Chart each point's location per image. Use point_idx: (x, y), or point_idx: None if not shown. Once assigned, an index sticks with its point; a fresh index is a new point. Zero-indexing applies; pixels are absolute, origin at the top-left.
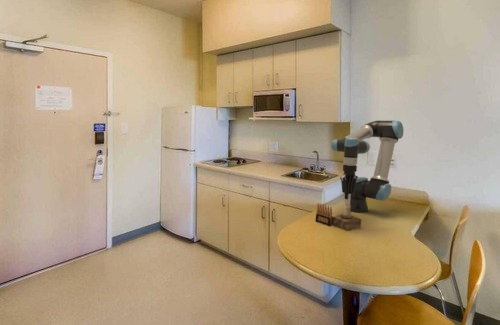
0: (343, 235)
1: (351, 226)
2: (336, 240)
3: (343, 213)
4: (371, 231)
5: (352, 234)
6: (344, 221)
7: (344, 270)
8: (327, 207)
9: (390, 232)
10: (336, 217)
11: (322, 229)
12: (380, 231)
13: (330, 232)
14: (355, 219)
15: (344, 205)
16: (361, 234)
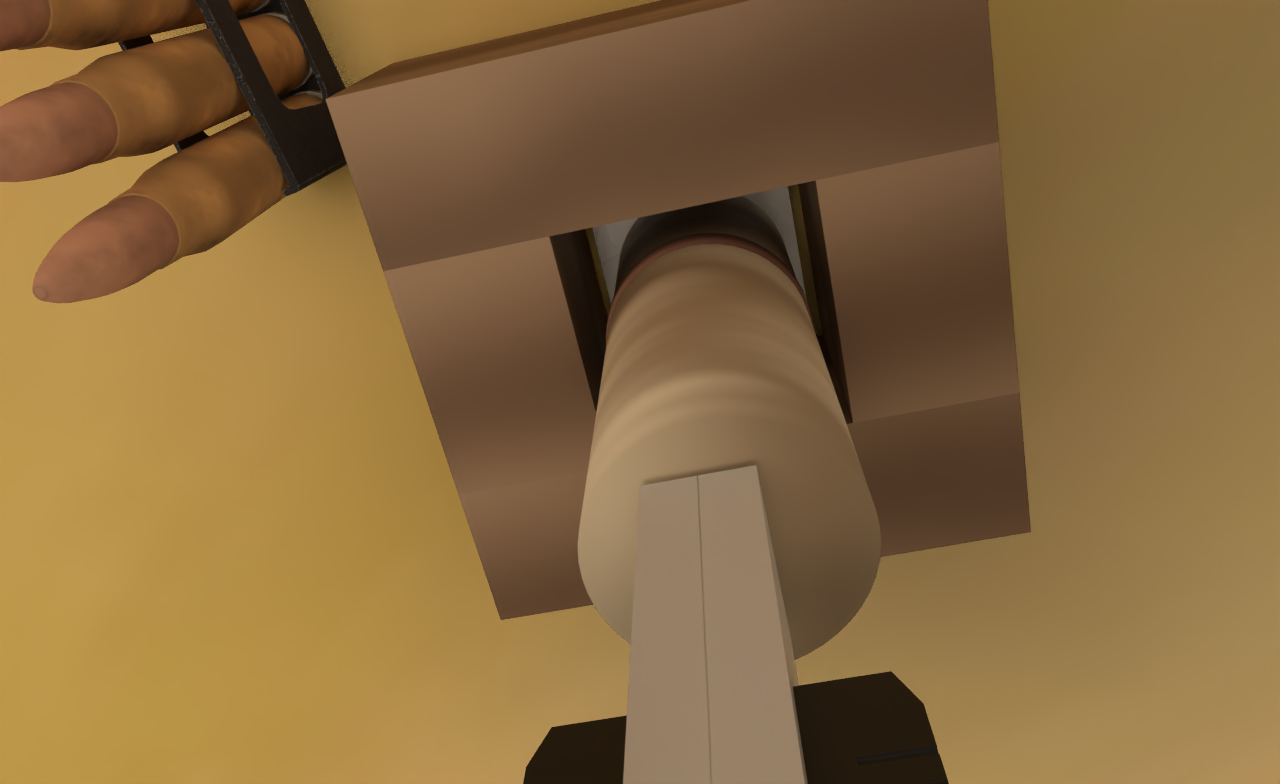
0: (318, 645)
1: None
2: (87, 755)
3: (604, 365)
4: (979, 653)
5: (513, 657)
6: (472, 530)
7: None
8: None
9: (1272, 775)
10: (425, 240)
11: (31, 293)
12: (1145, 698)
13: (138, 473)
14: None
15: (579, 539)
16: None
